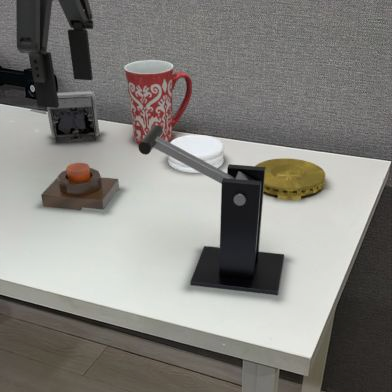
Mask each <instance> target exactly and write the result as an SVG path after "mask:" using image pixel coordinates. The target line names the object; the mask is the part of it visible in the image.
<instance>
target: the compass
mask: <svg viewBox="0 0 392 392" xmlns="http://www.w3.org/2000/svg"><path fill="white" fill-rule="evenodd" d="M255 166H257V167H265V180H264V192H265V193H267V194H270V195H275V196H277V200H284V201H299V200H301V199H302V197H304V196H310V195H312V194H316V193H318V192H319V191H321V190H324V188H325V181H326V172H325V170H324V169H323V168H322V167H320V166H319V165H318V164H315V163H314V162H311V161H307V160H303V159H299V158H298V159H297V158H286V157H285V158H280V157H279V158H272V159H267V160H264V161H261V162H258V163H257V164H255Z"/></svg>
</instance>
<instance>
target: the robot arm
mask: <svg viewBox="0 0 392 392" xmlns="http://www.w3.org/2000/svg"><path fill="white" fill-rule="evenodd" d="M57 1H58V4H59V5H60V7H61V9H62V11H63V14H64V16H65V17H66V18H65V19H66V21H67V23H68V25H69V27H70V28H69V29H68V30H67V36H68V37H67V38H68V44H69V52H70V60H71V66H72V67H71V68H72V74H73V79H74V80H82V81H92V80H93V79H94V77H93V69H92V59H91V51H90V42H89V41H90V40H89V32H88V30H94V21H93V14H92V9H91V5H90V1H89V0H57ZM15 2H16V7H15V9H16V12H15V13H16V15H15V17H16V49H17V51H18V52H19V53H20V54H28V59H29V65H30V69H31V70H30V71H31V75H32V83H33V88H34V92H35V93H34V94H35V98H36V103H37V107H40V108H47V107H52V108H57V107H59V102H58V96H57V93H58V91H57V85H56V77H55V71H54V65H53V59H52V57H53V56H52V52H50V51H48V42H49V33H50V26H51V16H52V15H51V14H52V7H53V2H54V0H16V1H15Z"/></svg>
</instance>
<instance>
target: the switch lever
mask: <svg viewBox="0 0 392 392" xmlns="http://www.w3.org/2000/svg"><path fill="white" fill-rule="evenodd" d="M162 134H163V129H162V128H161V127H160V126H159V125H154V126H153V127H152V128H151V129H150V131H149V132H148V133H147V135H146V136H145V137H144V139H143V140H142V141H141V142H140V144H138V151H139V153H140V154H142V155H146V156H147V155H149V154H150V153H151V152H152V150H153V149H155V150H157V151H159V152H161V153H163V154H165V155H167V156H168V157H169V156H170V157H172V158H174V159H176V160H178V161H180V162H182V163H183V164H185V165H187V166H189V167H191V168H193V169H195V170H197V171H198V172H200V173H199V174H202V175H204V176H206V177H208V178H210V179H212V180H214V181H215V182H217V183H219V184H221V185H222V180H223V178H228V179H240V180H252V181H256V180H255V179H253V178H251V177H249V176H247V175H245V174H243V173H242V172H240V171H238V173H237V175H236V177H235V178H234V177H233V176H231V175H229V174H227V172H225V171H223V170H222V169H219V168H216V167H214V166H212V165H210V164H208V163H207V162H205V161H203V160H201V159H199V158H197V157H195V156H194V155H192V154H190V153H188V152H186V151H184V150H182V149H180V148H179V147H177V146H175V145H173V144H171V143H170V142H167V141H166V140H164V139H162V138H160V137H161V136H162Z"/></svg>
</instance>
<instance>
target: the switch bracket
mask: <svg viewBox="0 0 392 392" xmlns="http://www.w3.org/2000/svg"><path fill="white" fill-rule="evenodd" d="M226 167H227V169H226V173H227V174H229V175H231V176H233V177H234V178H235V177H236V175H237V173H238V171H240V172H242V173H243V174H245V175H247V176H249V177H251V178H253V179H255V180H256V181H252V180H240V179H228V178H223V180H222V184H221V192H220V194H221V195H220V223H219V225H220V226H219V227H220V229H219V231H220V232H219V247H218V246H209V245H203V248H202V251H201V253H200V256H199V258H198V261H197V264H196V265H195V266H196V267H195V268H194V271H193V274H192V277H191V279H190V281H189V282H190V286H194V287H202V288H212V289H221V290H230V291H237V292H247V293H254V294H262V295H263V294H264V295H272V296H278V295H279V289H280V283H281V279H282V272H283V265H284V260H285V254H284V253H275V252H265V251H260V240H261V229H262V218H263V217H262V216H263V203H264V180H265V167H257V166H256V165H243V164H228V165H227V166H226Z"/></svg>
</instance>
